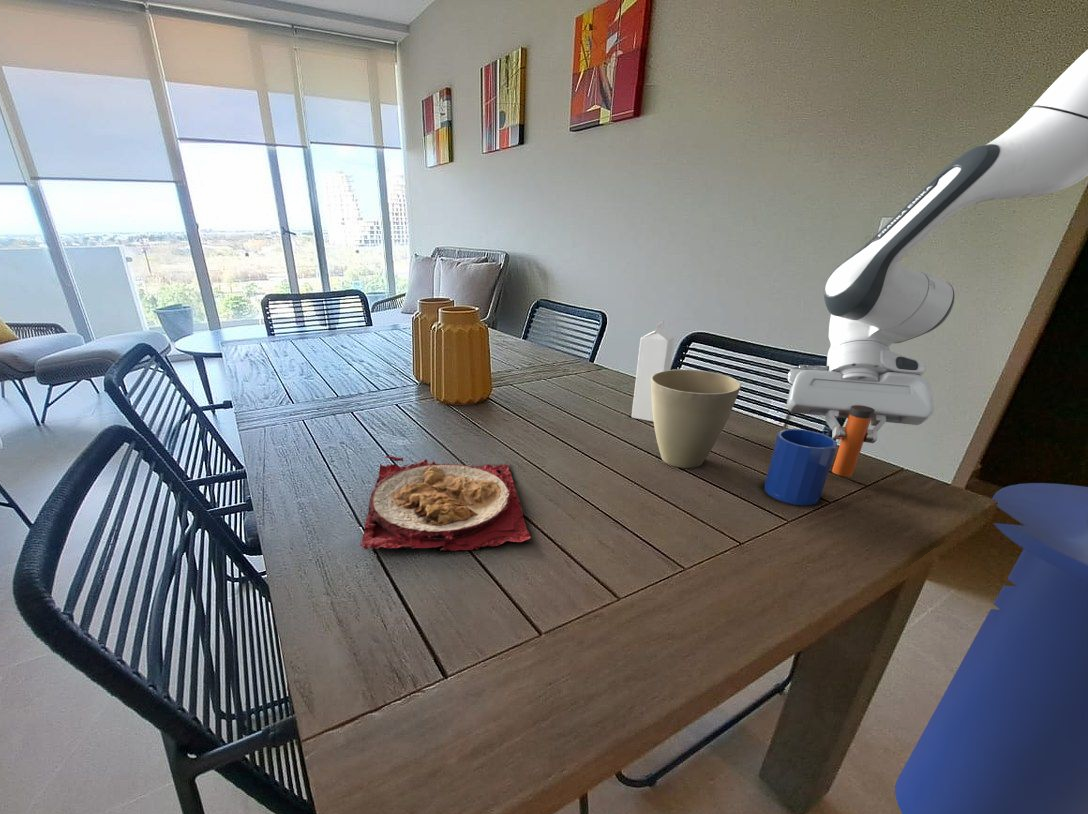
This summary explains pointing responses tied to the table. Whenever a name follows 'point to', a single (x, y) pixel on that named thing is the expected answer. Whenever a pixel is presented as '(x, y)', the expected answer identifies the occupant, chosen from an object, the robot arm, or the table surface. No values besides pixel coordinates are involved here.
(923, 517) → the table surface
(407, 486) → the plate with food
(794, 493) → the cup
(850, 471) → the orange tube bottle
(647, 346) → the milk
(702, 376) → the plant pot
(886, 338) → the robot arm
